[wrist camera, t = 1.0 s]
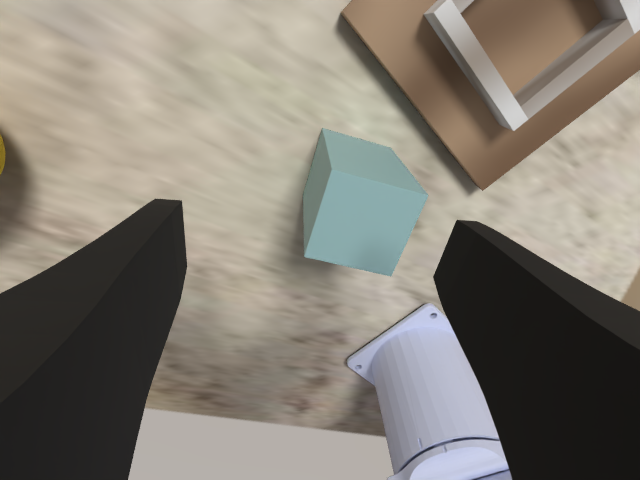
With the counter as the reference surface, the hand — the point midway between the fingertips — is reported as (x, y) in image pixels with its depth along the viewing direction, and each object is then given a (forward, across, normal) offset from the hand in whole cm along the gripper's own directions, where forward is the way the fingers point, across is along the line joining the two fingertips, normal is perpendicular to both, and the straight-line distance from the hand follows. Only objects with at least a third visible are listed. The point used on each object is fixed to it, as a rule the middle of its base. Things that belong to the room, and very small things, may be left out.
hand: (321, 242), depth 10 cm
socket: (+12, -10, -6) cm, 16 cm away
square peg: (+11, -3, +3) cm, 12 cm away
